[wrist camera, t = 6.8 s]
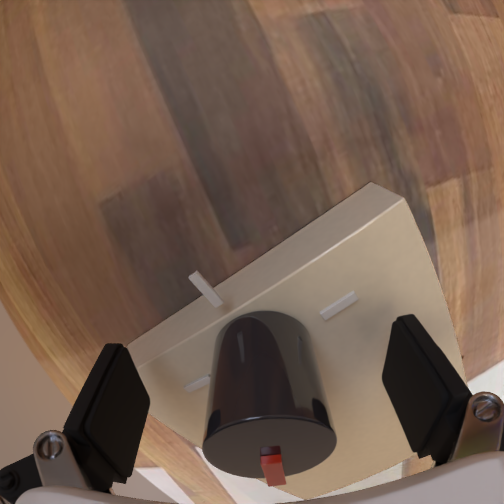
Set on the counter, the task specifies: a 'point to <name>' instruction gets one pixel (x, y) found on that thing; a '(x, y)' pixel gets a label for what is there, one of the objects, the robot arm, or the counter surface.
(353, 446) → the panel
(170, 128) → the counter surface
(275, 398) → the knob
